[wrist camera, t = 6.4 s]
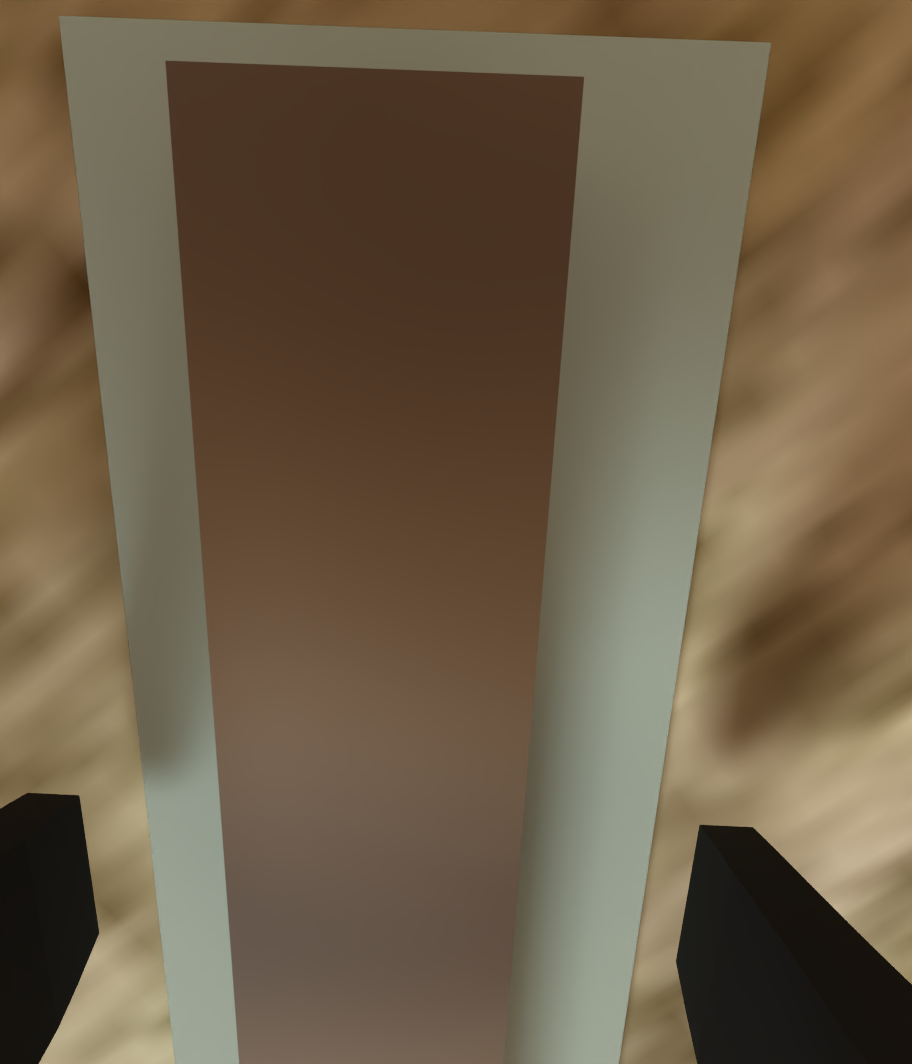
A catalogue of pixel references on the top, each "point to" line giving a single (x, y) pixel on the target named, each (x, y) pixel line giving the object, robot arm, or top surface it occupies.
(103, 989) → the top surface
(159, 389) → the mat
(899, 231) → the top surface
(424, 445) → the rail
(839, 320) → the top surface
